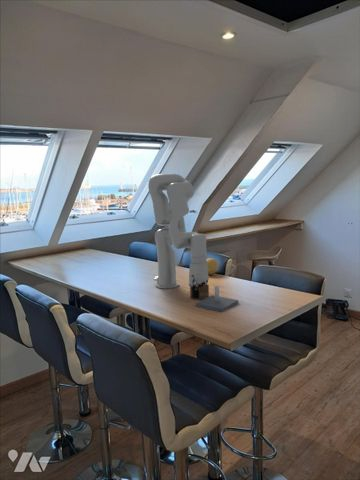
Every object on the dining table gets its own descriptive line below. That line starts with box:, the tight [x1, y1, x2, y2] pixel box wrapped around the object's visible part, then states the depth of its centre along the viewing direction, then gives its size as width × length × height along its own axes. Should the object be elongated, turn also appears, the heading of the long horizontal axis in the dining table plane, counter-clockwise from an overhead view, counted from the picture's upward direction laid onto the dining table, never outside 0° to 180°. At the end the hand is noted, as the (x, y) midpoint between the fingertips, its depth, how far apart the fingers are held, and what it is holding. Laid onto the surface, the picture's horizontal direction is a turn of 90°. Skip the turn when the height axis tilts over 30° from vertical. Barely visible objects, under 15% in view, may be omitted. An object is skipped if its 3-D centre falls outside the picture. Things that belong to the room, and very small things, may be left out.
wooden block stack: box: [189, 283, 210, 301], centre depth 178 cm, size 6×6×6 cm
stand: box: [194, 285, 239, 313], centre depth 166 cm, size 14×14×8 cm
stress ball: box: [207, 257, 219, 276], centre depth 223 cm, size 10×10×10 cm
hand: (199, 295), depth 178 cm, fingers closed on wooden block stack, 6 cm apart
